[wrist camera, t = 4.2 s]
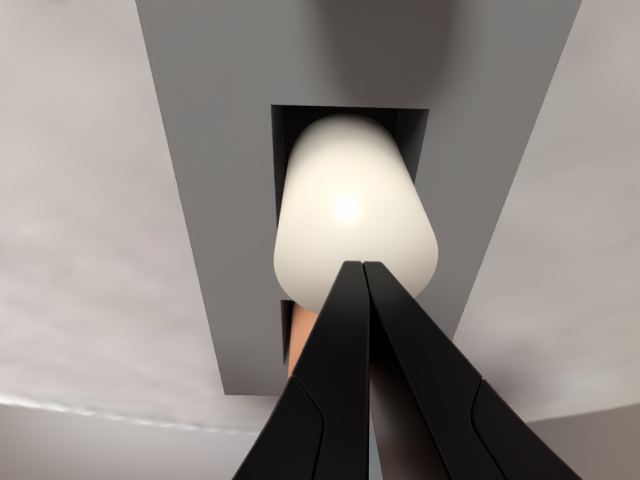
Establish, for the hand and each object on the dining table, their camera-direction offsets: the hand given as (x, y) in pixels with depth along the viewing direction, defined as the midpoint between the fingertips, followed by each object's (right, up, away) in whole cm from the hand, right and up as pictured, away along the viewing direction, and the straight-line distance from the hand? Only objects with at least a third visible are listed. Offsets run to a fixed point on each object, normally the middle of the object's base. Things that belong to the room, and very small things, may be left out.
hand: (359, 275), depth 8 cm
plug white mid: (0, +3, +4) cm, 5 cm away
